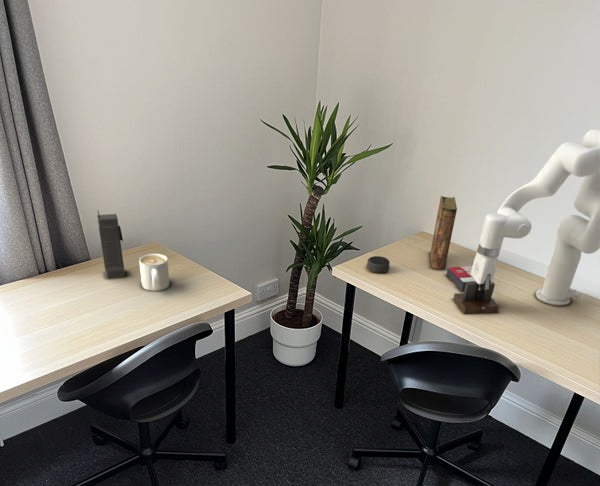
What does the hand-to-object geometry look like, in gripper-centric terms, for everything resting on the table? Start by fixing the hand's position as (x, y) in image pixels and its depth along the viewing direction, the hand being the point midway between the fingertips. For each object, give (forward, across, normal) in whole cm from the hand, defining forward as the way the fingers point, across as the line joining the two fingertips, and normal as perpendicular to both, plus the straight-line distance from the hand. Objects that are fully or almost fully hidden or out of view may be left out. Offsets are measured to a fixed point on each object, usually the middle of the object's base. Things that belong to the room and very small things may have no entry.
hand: (477, 297), depth 222 cm
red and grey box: (+4, -19, +3) cm, 20 cm away
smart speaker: (+4, -31, -30) cm, 44 cm away
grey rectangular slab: (+1, 0, 0) cm, 1 cm away
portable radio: (+4, -25, -133) cm, 135 cm away
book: (+4, -39, -4) cm, 39 cm away
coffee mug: (+4, -15, -117) cm, 118 cm away
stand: (+3, 0, 0) cm, 3 cm away
